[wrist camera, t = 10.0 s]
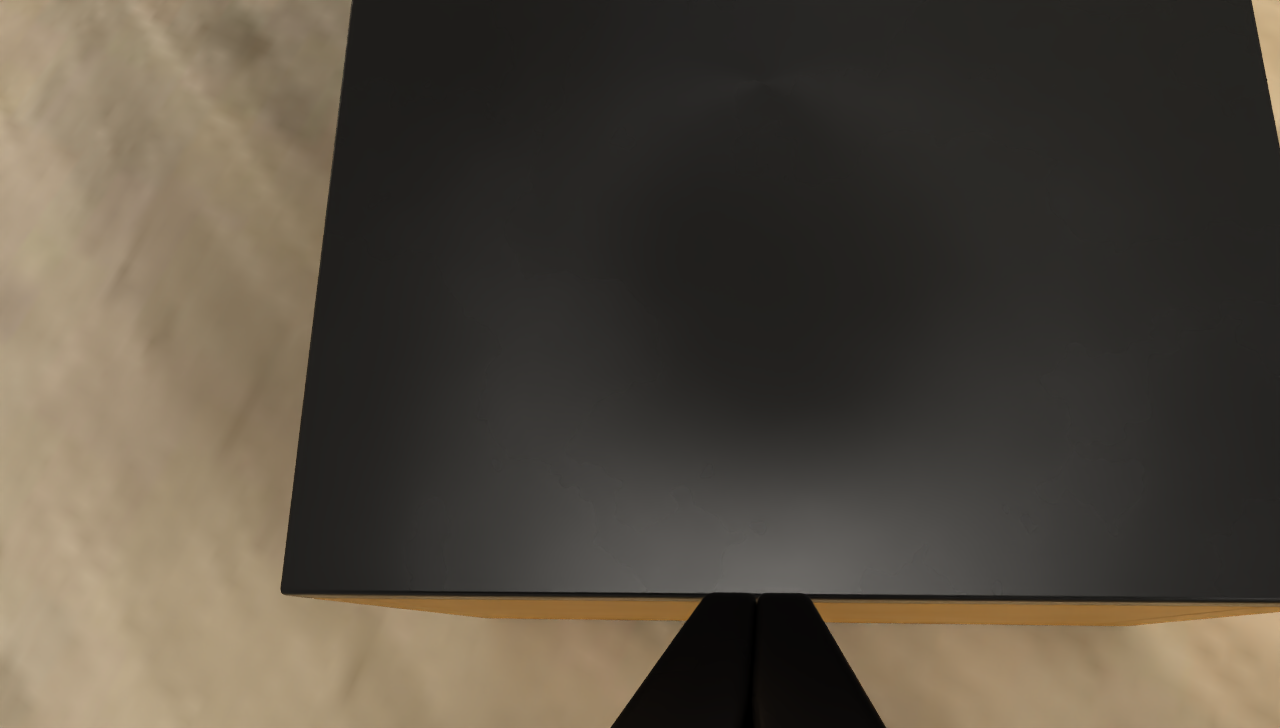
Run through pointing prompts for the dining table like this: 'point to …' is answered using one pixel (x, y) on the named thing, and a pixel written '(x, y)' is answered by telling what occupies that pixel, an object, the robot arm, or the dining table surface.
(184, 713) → the dining table surface
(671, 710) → the robot arm
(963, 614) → the orange box
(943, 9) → the black square box lid
